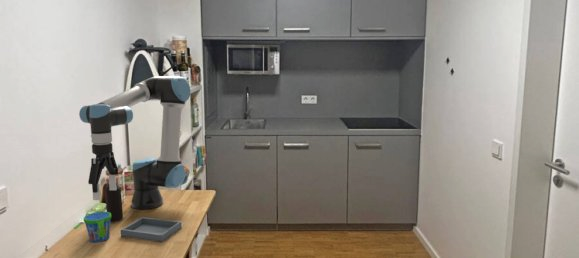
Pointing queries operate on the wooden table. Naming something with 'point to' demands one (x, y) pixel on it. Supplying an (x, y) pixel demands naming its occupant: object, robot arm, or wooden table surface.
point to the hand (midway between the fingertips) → (105, 194)
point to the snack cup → (98, 226)
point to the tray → (151, 229)
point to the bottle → (114, 202)
